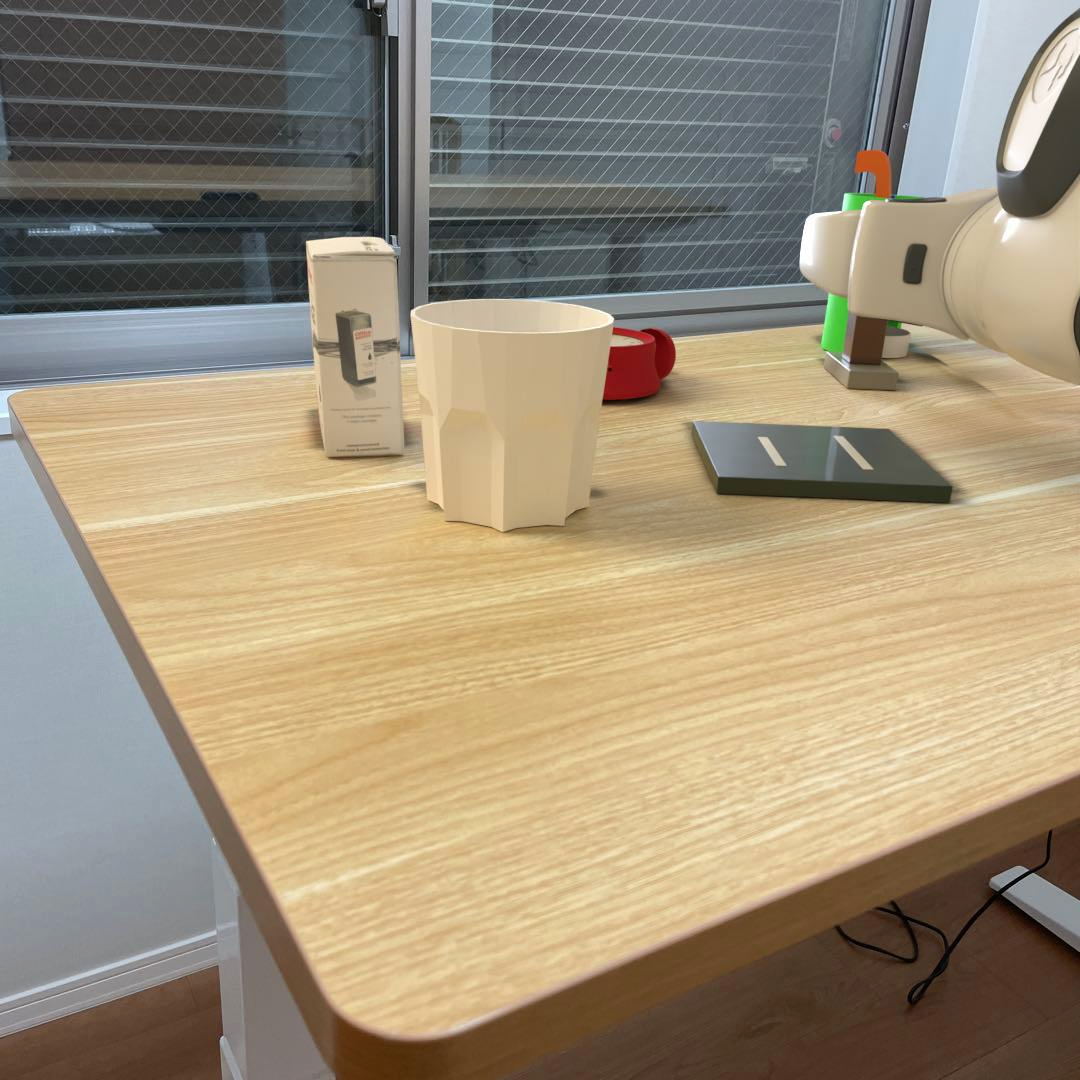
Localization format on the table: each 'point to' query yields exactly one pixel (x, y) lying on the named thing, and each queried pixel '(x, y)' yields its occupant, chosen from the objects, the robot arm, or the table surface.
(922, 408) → the table surface
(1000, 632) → the table surface
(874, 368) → the eraser
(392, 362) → the ink box
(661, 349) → the alarm clock
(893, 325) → the green hooked bin
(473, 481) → the cup
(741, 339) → the table surface
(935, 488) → the board
